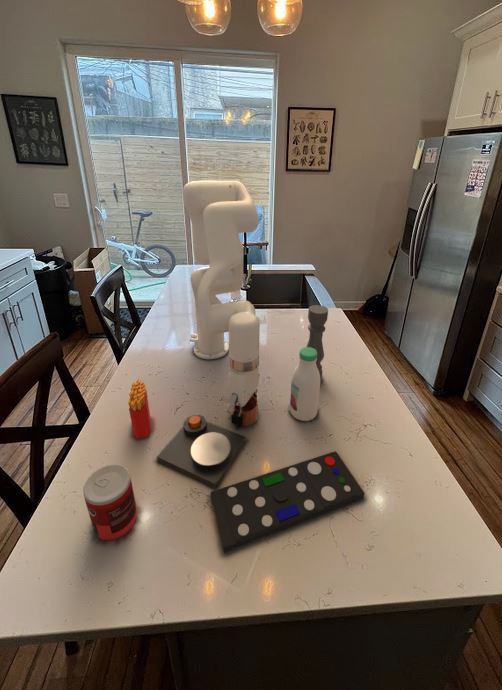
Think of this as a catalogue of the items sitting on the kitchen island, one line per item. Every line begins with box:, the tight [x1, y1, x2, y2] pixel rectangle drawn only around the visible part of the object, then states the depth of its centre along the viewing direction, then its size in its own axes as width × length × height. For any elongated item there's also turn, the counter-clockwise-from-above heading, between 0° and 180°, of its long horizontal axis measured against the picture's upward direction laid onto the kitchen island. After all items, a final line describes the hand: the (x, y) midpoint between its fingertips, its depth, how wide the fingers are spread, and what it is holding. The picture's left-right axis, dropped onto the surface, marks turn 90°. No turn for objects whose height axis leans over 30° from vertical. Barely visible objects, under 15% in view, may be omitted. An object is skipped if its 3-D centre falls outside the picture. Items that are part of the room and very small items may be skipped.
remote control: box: [210, 450, 365, 553], centre depth 69 cm, size 11×30×2 cm, turn 111°
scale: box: [156, 414, 247, 489], centre depth 79 cm, size 16×14×3 cm
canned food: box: [82, 464, 138, 542], centre depth 62 cm, size 8×8×11 cm
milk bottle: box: [289, 347, 321, 422], centre depth 89 cm, size 8×8×20 cm
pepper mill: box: [306, 304, 329, 384], centre depth 101 cm, size 6×6×25 cm
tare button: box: [189, 415, 201, 428], centre depth 84 cm, size 3×3×2 cm
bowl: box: [234, 395, 259, 427], centre depth 89 cm, size 7×7×5 cm
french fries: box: [127, 378, 152, 439], centre depth 83 cm, size 9×4×13 cm, turn 18°
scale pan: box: [191, 432, 231, 467], centre depth 76 cm, size 9×9×1 cm
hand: (244, 414), depth 90 cm, fingers closed on bowl, 7 cm apart
